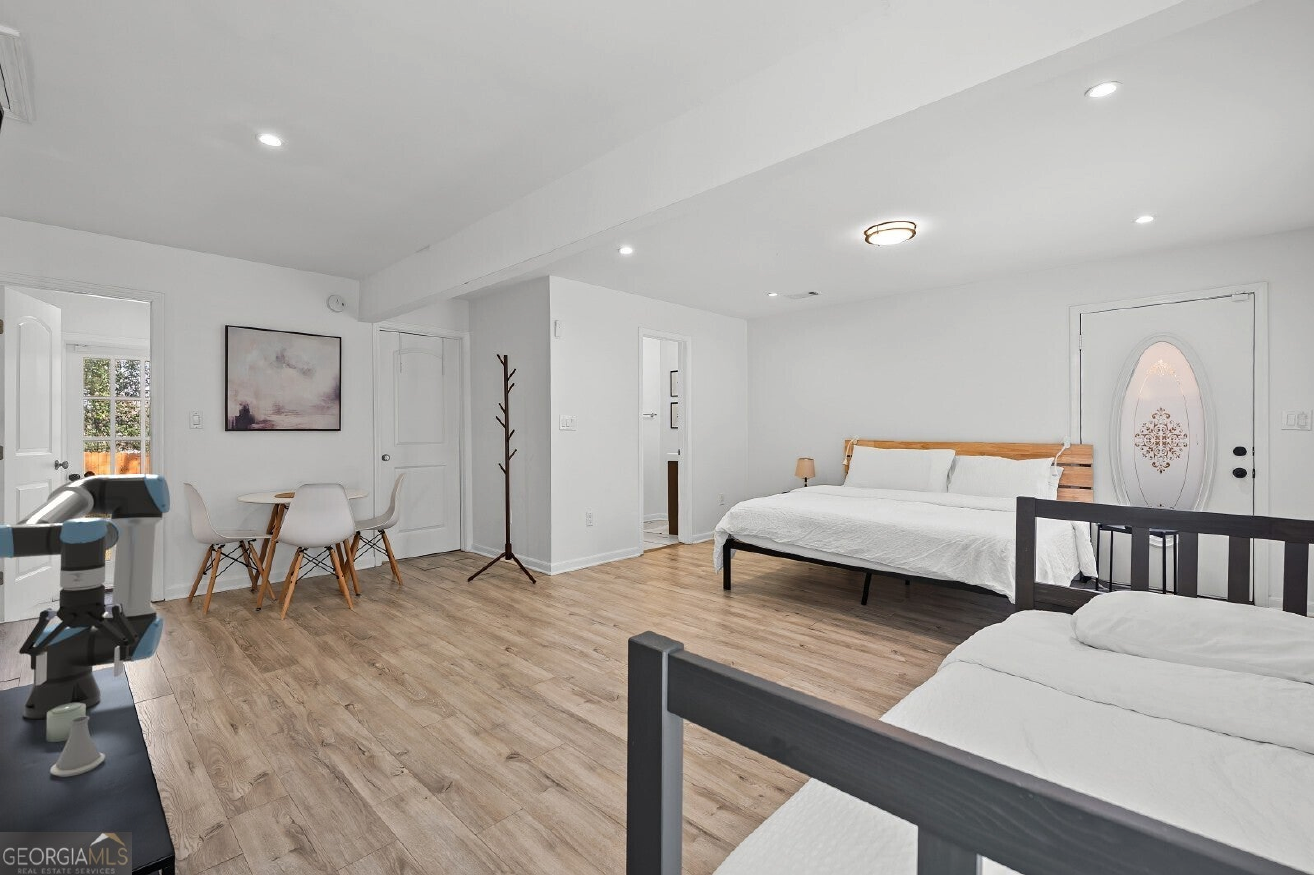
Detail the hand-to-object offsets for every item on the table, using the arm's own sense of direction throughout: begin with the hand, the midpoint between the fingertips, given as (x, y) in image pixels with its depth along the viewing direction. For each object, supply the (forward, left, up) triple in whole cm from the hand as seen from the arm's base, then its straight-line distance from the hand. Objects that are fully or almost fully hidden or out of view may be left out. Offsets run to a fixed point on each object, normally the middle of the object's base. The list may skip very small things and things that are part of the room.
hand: (80, 678), depth 138 cm
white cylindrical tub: (-20, -9, -21) cm, 30 cm away
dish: (0, 0, -21) cm, 21 cm away
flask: (0, 0, -20) cm, 20 cm away
